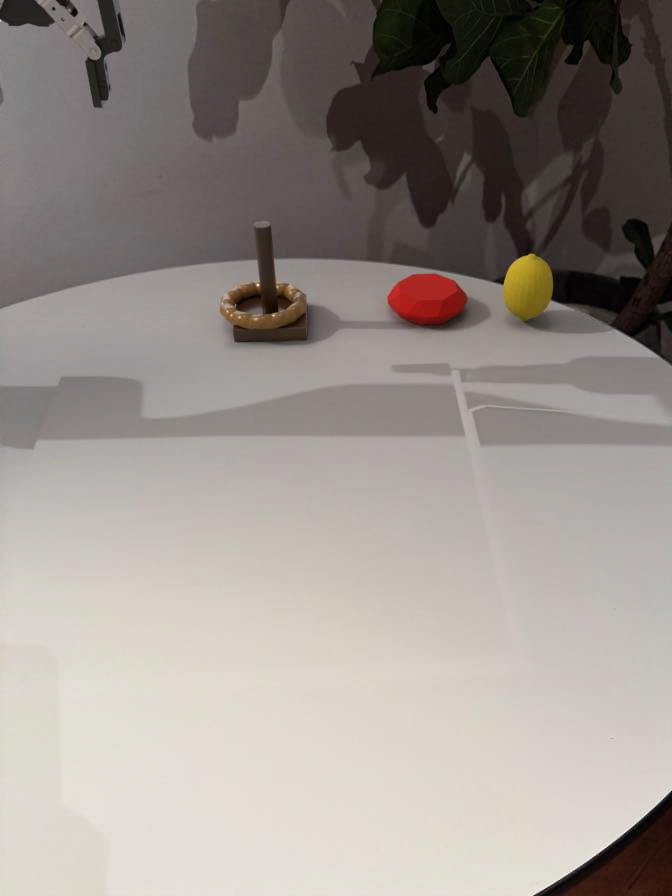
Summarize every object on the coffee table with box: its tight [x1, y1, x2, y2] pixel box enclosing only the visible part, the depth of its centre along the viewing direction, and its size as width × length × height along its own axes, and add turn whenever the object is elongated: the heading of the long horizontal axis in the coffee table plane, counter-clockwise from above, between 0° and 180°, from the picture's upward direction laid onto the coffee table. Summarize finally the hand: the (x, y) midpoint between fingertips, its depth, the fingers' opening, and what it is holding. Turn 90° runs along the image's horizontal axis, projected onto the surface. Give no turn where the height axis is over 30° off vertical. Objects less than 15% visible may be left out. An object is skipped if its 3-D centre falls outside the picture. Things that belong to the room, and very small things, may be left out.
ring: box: [219, 280, 307, 330], centre depth 98 cm, size 10×10×2 cm
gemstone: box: [386, 272, 468, 326], centre depth 101 cm, size 9×9×3 cm
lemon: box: [502, 253, 554, 322], centre depth 98 cm, size 6×6×8 cm
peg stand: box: [232, 220, 308, 343], centre depth 96 cm, size 8×8×12 cm
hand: (49, 104), depth 75 cm, fingers open, 8 cm apart
